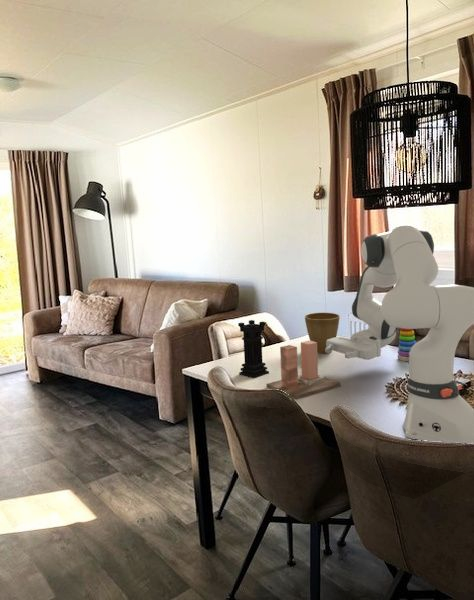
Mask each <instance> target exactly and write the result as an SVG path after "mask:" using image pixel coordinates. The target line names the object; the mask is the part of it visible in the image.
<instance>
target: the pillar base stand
mask: <svg viewBox="0 0 474 600" xmlns="http://www.w3.org/2000/svg"><path fill="white" fill-rule="evenodd" d="M279 348H280V352H279V353H280V374H281V375H280V377H281V379H279V380H276V381H272V382H269V383H266V388H269V389H270V390H273V389H279V390H282V391H284V392H286V393H287V394H289V395H290V396H291V397H290V396H289V397H290V398H293V399H295V400H298V399H300V398H305V397H307V396H310V395H314V394H316V393H317V394H319V393H320V392H324V391H328V390H331V389H334V388H338V387H341V386H342V383H341V381H338V380H334V379H331V378H328V377H326V376H325V377H324V376H322V375H319V374H318V379H314V380H311V381H308V380H305V379H302V374H299V372H298V371H299V367H298V365H299V364H298V346H295V345H291V344H288V345H282V346H280V347H279Z"/></svg>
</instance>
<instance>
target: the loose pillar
mask: <svg viewBox="0 0 474 600" xmlns="http://www.w3.org/2000/svg"><path fill="white" fill-rule="evenodd" d="M300 358H301V361H300V364H301V365H300V367H301V375H302V379H305V380H308V381H311V380H314V379H318V375H319V369H318V368H319V365H318V364H319V363H318V358H319V357H318V353H317V342H313V341H310V340H306V341H301V342H300Z"/></svg>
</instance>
